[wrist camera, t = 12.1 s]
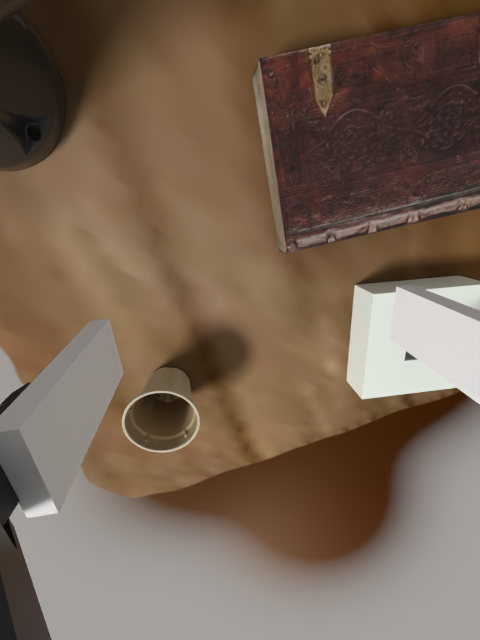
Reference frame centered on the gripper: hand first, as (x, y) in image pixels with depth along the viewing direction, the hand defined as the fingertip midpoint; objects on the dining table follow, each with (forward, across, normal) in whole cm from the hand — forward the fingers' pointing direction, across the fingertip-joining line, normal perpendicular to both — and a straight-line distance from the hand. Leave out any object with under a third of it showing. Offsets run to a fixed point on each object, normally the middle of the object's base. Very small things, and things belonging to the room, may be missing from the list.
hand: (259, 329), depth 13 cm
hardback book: (+27, +21, +10) cm, 35 cm away
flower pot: (+26, -10, -19) cm, 34 cm away
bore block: (+26, +26, -15) cm, 40 cm away
